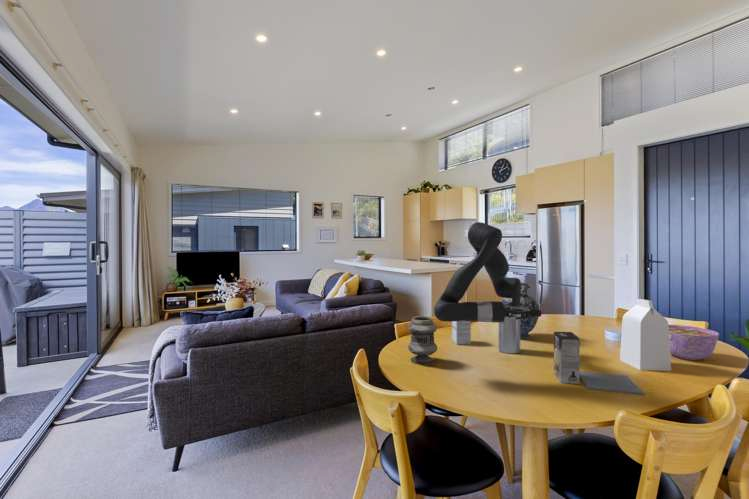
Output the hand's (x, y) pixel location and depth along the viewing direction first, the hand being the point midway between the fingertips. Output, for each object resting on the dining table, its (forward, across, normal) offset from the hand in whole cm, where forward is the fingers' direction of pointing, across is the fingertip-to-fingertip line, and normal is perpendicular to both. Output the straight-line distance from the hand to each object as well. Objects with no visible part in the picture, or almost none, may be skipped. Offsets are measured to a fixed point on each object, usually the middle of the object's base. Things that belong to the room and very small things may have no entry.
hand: (539, 312), depth 129 cm
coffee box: (+10, +2, +24) cm, 26 cm away
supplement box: (-23, +46, +24) cm, 57 cm away
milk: (+45, +21, +24) cm, 56 cm away
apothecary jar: (-42, +16, +24) cm, 51 cm away
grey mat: (+22, 0, +24) cm, 33 cm away
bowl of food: (+69, +34, +24) cm, 80 cm away
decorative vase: (+8, +60, +24) cm, 65 cm away
